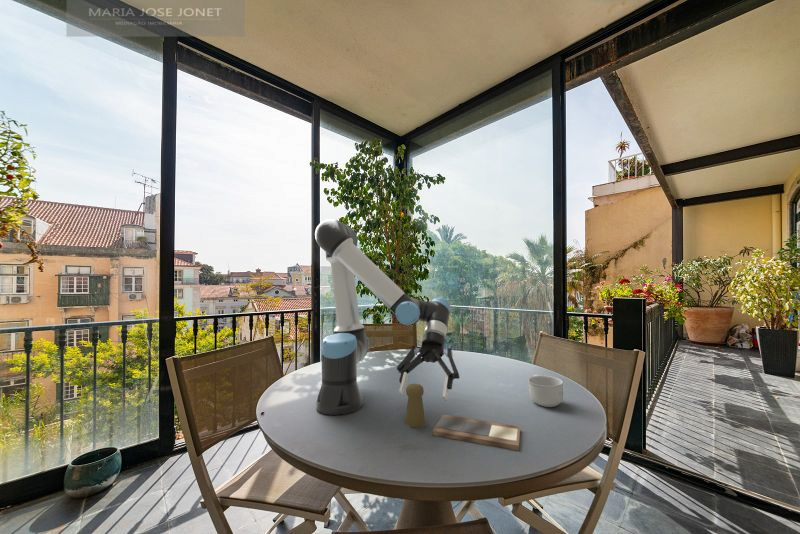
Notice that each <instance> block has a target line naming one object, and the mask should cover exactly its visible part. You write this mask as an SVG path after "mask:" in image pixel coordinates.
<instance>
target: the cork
mask: <svg viewBox="0 0 800 534" xmlns="http://www.w3.org/2000/svg"><path fill="white" fill-rule="evenodd" d="M405 392H406V393H405V394H406V396H407V402H406V411H405V412H406V413H405V420H404V423H405V425H406V426H408V427H411V428H420V427H424V426H425V425H426V416H425V410H424V403H423V396H424V392H425V391H424V387H423V386H422V385H421V384H418V383H411V384H407V385H406V389H405Z"/></svg>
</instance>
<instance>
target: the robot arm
mask: <svg viewBox="0 0 800 534" xmlns="http://www.w3.org/2000/svg"><path fill="white" fill-rule="evenodd" d="M314 231H315V232H314V236H315V237H314V239H315V242H316V243H317V245H318V247H320V248H321V249H322V250H323V251H325V258H326V261H328V262H329V263H330V268H331V269H330V271H331V277H332V278H331V279H332V286H333V287H332V288H333V296H334V307H335V317H336V327H334V329H333V334H330V335H327V336H325V337H324V338H323V339H322V341H321V347H320V352H321V386H320V389H319V391H318V395H317V399H316V411H317V410H318V411H317V412H318V413H320V412H321V413H320V414H323V415H327V414H329V415H328V416H339V414H342V415H347V413H348V414H351V413H353V412H356V411H358V410H359V409H360V408H362V406H363V397H362V394H361V393H362V392H361V390H360V387H359V384H358V381H357V380H358V376H357V375H358V374H357V373H358V372H357V371H358V366H357V365H358V363H359V362H361V361H362V360H363V359H364V358H365V357H366V356H367V354H368V352H369V348H370V341H369V338H368V337H367V334H366V329H365V326H364V325H363V323H361V322H360V313H359V304H358V303H359V302H358V296H357V295H358V294H357V285H356V278H357V280H359V281H360V282H361V283H362V284H363V285H364V286H365V288H367V289H368V290H369V291H370V292H371V293H372V294H373V295H374V296H375V297H376V298H377V299H379V300H380V302H382V303H383V304H384V305H385V306H386V308H387V309H389V310H390V311H391V312H392V313H393V314H394V315H395V317H396V320H397V321H398V322H399V323H400V324H402V325H405V326H410V325H413V324H414V323H417V322H418V321H420V322H424V323H426V324H425V328H424V333H423V337H422V341H421V346H420V347H416V346H415V345H412V346H411V348H410V351H409V352H408V353H407V354H406V355H405V356H404V358H403V359H402V361H400V363H399V364H398V365H397V367H396V370H397V372H398V373H399V374H400V377H399V379H398V380H399V383H400V387H399V390H398V392H399V393H400V395H401V396H405V394H406V393H405V392H406V388H407V385H408V381H409V375H408V374H410V373H411V372H412V371H414V369H415V368H417V367H418V366H419V365H420V364H423V363H424V362H425V363H438V364H439V366H440V367H441V368H442V370H443V371H444V372H445V373H444V374H445V377H444V384H443V390H442V396H441V397H442V400H443V401H444V402H447V400H448V394H449V390H452V389H453V381H454V380H455V379H456V380H459V379H460V374H459V371H458V369H457V366H456V363H455V361H454V359H453V350H452V348H451V347H449V348H447V349H444V348H445V342H446V340H445V339H446V336H447V331H448V325H449V319H450V314H451V303H450V301H448V300H447V299H446V298H444V297H440V296H439V297H435V298H433V299H432V300H431V301H426V300H421V299H417V298H413V297H410V296H409V295H407V294H406V293H405V291H403V290H402V288H400V287H399V285H397V284H396V283H395V282H394V281H393V280H392V279H391V278H390V277H389V276H388V275H386V273H385V272H384V271H382V270H381V269H380V268H379V267H378V266H377V264H375V263H374V262H373V261H372V260H371V258H369V257H368V256H367V255H366V254H365V253H364V252H363V251H362V250H361V249H359V248H358V241H359V239H358V235H357V233H356V232H355V230H354V229H353V228H352V227H351V226H350V225H348V224H346V223H343V222H341V221H340V220H337V219H335V218H334V219H333V218H329V219H325V220H323V221H321V222H320V223H319V224H318V225H317V226H316V228H315V230H314ZM444 355H445V356H446V358H448V361H449V363H450V365H451V369H452V371H453V372H451V370H450V369H449V367H448V366H447V365H446V363H445V361H444V360H443V358H442V357H443V356H444Z"/></svg>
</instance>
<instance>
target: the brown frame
mask: <svg viewBox="0 0 800 534" xmlns="http://www.w3.org/2000/svg"><path fill="white" fill-rule="evenodd" d="M432 436H435V437H441V438H446V439H453V440H459V441H463V442H469V443H473V444H474V443H475V444H479V445H480V444H481V445H486V446H491V447H496V448H501V449H507V450H513V451H520V441H521V426H520V425H514V424H513V425H512V424H508V423H501V422H496V421H495V422H494V421H487V420H482V419H475V418H474V419H473V418H468V417H461V416H454V415H447V414H442V416H441V417H440V419H439V420H438V422H437V423H436V425H435V426H434V428H433V429H432Z"/></svg>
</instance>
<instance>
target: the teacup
mask: <svg viewBox="0 0 800 534" xmlns="http://www.w3.org/2000/svg"><path fill="white" fill-rule="evenodd" d="M527 382H528V390H529V391H528V393H529V396H530V398H531V400H532V401H534V402H535V404H537V405H538V406H540V405H541V406H540V407H546V408H553V407H557V406H558V405H560V404H561V403H562V402H563V400H564V385H563V384H564V381H563V380H562V379H560V378H558V377H555V376H551V375H539V374H534V375H533V376H530V377H529V378H528V379H527Z"/></svg>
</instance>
